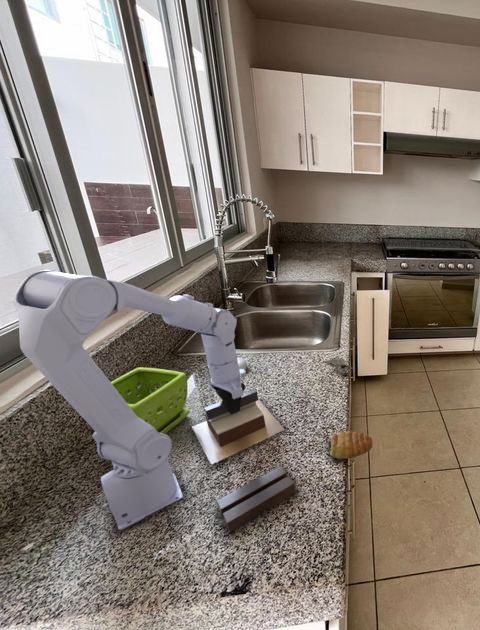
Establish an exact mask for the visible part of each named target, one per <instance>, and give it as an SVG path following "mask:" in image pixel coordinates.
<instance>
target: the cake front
mask: <svg viewBox="0 0 480 630" xmlns="http://www.w3.org/2000/svg"><path fill="white" fill-rule="evenodd" d="M211 425H212V429H213V433H214V437H215V438H216V440H217V442H218V443H219V445H220V447H222V446H224V445H227V444H229V443H231V442H233V441H236V440H238V439H240V438H242V437H244V436H247V435H249V434H251V433H253V432H255V431H258V430H260V429H262V428H264V427H266V425H265V420H264V414H263V412H262V411H261V410H260V409H259V408H258V406H257V405H254V406H252V407H249V408H247V409H244V410H242V411H239V412H237V413H234V414H232V415H229V416H227V417H224V418H222V419H219V420H217V421H214V422H212V423H211Z"/></svg>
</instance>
